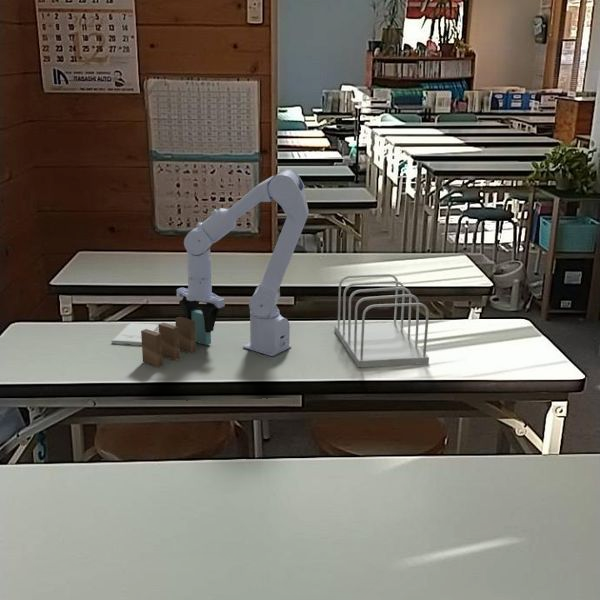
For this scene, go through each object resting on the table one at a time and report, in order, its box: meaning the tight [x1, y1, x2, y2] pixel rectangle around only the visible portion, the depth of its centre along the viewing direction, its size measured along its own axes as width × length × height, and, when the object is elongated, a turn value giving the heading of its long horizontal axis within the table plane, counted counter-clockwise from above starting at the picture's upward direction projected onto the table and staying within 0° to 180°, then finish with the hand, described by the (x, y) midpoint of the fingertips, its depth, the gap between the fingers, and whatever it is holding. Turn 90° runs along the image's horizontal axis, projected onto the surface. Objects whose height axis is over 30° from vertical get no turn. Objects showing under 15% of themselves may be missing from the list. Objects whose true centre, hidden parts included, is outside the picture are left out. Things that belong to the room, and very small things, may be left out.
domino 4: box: [191, 309, 212, 346], centre depth 184 cm, size 2×5×8 cm, turn 54°
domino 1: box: [141, 329, 164, 369], centre depth 172 cm, size 2×5×8 cm, turn 54°
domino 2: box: [158, 322, 181, 361], centre depth 176 cm, size 2×5×8 cm, turn 54°
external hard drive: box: [111, 322, 159, 346], centre depth 190 cm, size 2×8×12 cm
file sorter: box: [334, 273, 430, 368], centre depth 183 cm, size 25×17×16 cm
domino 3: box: [174, 316, 197, 354], centre depth 180 cm, size 2×5×8 cm, turn 54°
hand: (201, 328), depth 184 cm, fingers open, 5 cm apart
